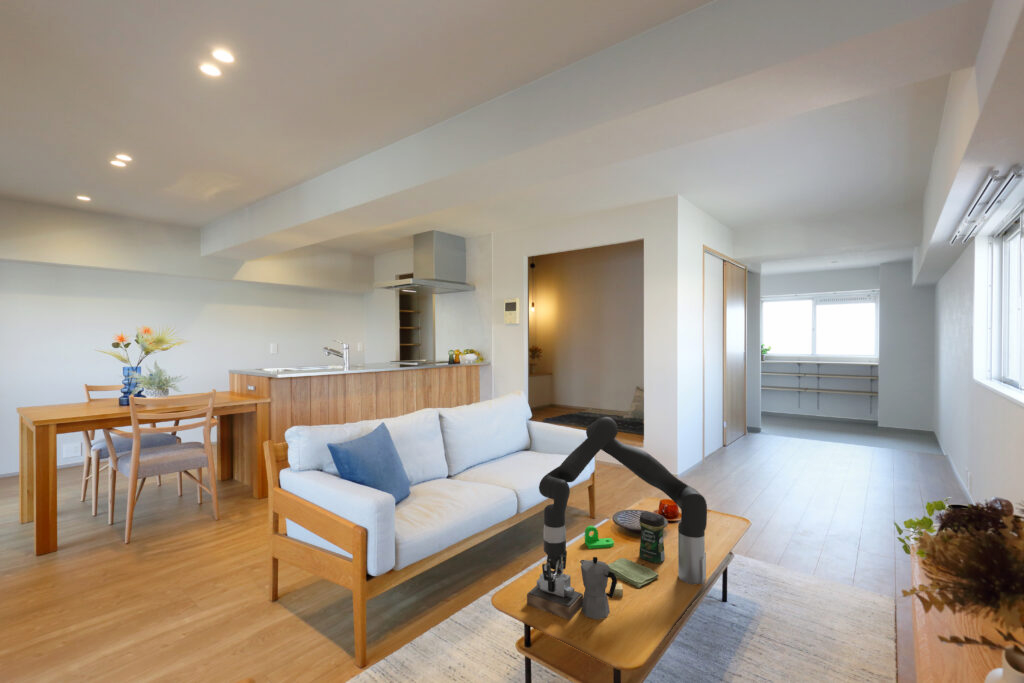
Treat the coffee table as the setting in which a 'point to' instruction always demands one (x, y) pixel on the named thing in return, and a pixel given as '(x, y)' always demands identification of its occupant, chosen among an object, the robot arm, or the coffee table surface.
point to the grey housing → (557, 585)
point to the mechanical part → (596, 539)
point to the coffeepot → (596, 588)
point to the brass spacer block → (618, 590)
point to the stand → (555, 602)
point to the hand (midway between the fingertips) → (555, 587)
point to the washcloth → (632, 572)
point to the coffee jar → (652, 537)
